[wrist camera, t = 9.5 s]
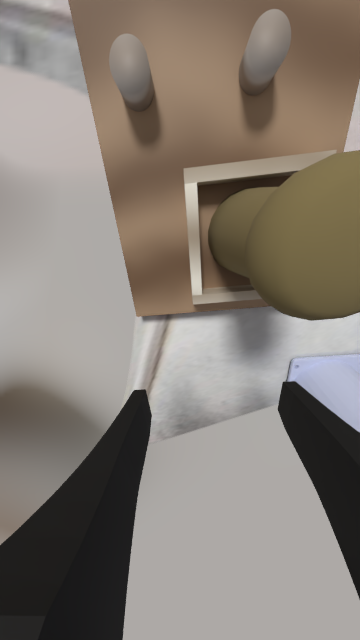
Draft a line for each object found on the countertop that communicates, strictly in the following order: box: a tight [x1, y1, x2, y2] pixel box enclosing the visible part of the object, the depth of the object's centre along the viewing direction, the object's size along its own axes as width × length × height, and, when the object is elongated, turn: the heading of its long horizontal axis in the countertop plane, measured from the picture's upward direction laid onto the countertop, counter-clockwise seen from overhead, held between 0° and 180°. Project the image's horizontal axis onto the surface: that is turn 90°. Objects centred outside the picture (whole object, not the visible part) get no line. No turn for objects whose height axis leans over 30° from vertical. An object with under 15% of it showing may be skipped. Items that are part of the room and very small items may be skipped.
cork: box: [208, 150, 360, 320], centre depth 10 cm, size 6×6×11 cm
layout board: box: [68, 0, 360, 317], centre depth 13 cm, size 20×16×3 cm
